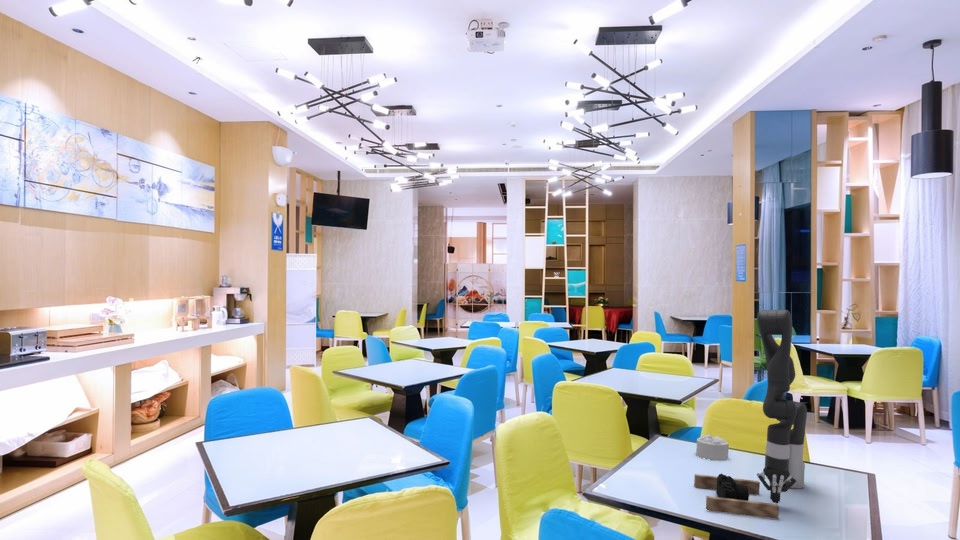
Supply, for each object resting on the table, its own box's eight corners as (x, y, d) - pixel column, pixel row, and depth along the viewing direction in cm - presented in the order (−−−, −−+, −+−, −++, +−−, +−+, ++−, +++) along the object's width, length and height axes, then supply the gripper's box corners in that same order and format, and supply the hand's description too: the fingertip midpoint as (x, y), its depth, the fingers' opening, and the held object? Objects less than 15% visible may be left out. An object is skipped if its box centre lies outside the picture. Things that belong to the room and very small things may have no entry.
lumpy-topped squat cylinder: (730, 460, 233) (731, 441, 233) (702, 460, 232) (703, 441, 231) (718, 452, 243) (719, 433, 243) (691, 451, 242) (692, 433, 242)
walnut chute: (757, 492, 200) (758, 481, 200) (778, 519, 180) (778, 506, 179) (694, 485, 204) (694, 474, 204) (706, 510, 184) (707, 497, 184)
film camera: (752, 513, 183) (754, 487, 183) (722, 509, 186) (724, 484, 185) (741, 494, 198) (742, 471, 198) (713, 491, 200) (714, 467, 200)
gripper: (793, 452, 191) (790, 499, 192) (754, 448, 194) (751, 495, 194) (801, 460, 184) (799, 509, 184) (761, 456, 186) (758, 504, 187)
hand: (774, 501), depth 189 cm, fingers closed
